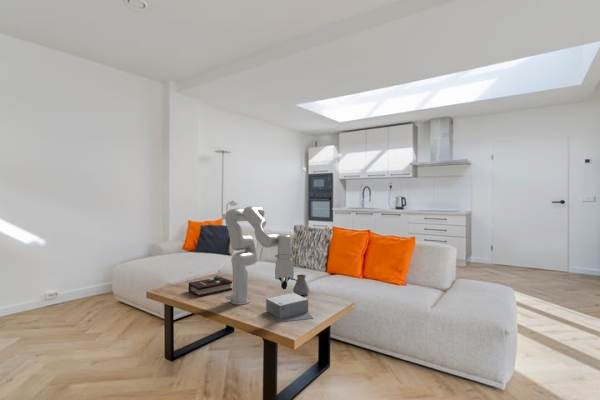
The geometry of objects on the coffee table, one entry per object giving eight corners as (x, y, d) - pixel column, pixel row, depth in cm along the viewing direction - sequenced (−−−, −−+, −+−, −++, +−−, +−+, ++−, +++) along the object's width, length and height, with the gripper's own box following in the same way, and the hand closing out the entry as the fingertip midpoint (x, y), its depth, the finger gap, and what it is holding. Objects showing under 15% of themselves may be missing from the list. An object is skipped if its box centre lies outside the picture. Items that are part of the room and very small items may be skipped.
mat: (277, 322, 167) (277, 321, 167) (271, 310, 184) (271, 310, 184) (313, 318, 172) (313, 317, 172) (304, 307, 190) (304, 306, 189)
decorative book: (184, 281, 220) (223, 275, 240) (184, 292, 220) (223, 284, 240) (195, 287, 206) (235, 279, 226) (195, 299, 206) (235, 290, 226)
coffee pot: (299, 290, 224) (300, 269, 224) (312, 293, 217) (312, 272, 217) (279, 298, 207) (279, 275, 207) (292, 301, 200) (292, 278, 200)
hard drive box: (279, 319, 170) (308, 311, 181) (279, 305, 170) (308, 298, 181) (265, 311, 183) (293, 304, 194) (265, 298, 183) (293, 292, 194)
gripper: (272, 258, 171) (272, 291, 171) (298, 257, 175) (298, 289, 175) (270, 256, 178) (270, 288, 178) (295, 254, 182) (295, 286, 182)
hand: (284, 288), depth 177 cm, fingers closed
